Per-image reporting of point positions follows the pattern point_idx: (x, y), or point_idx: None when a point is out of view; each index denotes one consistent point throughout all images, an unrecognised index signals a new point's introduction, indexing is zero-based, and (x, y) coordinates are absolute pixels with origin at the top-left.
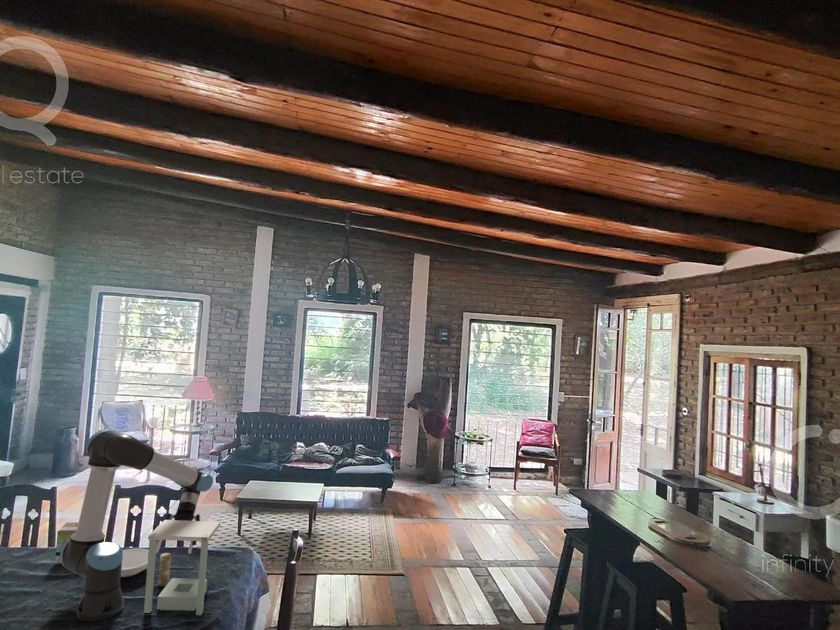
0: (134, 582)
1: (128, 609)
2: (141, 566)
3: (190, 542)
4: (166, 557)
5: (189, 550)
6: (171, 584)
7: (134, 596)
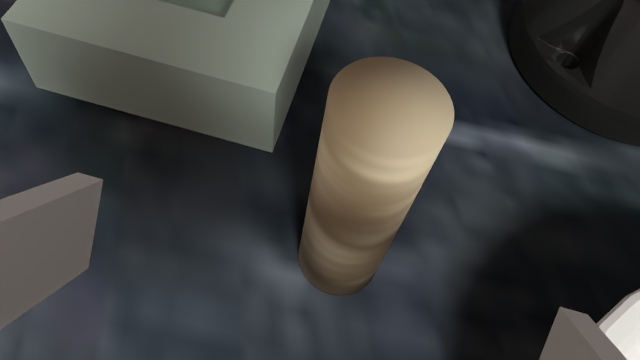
0: None
1: (475, 33)
2: (606, 314)
3: (8, 218)
4: (370, 59)
5: (72, 175)
6: (273, 17)
7: (492, 141)
